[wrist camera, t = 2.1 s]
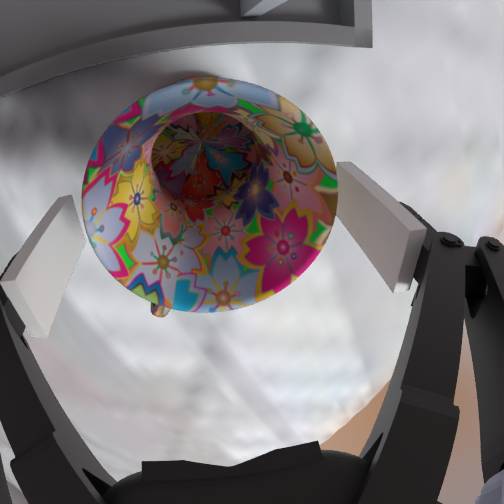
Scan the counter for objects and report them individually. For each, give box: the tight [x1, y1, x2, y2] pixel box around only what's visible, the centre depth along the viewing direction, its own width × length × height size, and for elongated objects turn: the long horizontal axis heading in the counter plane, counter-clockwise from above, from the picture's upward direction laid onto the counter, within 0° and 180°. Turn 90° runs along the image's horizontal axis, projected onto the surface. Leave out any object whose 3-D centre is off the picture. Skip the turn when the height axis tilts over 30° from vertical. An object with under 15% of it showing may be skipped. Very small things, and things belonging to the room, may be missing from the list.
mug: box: [82, 76, 338, 317], centre depth 16 cm, size 12×9×11 cm
